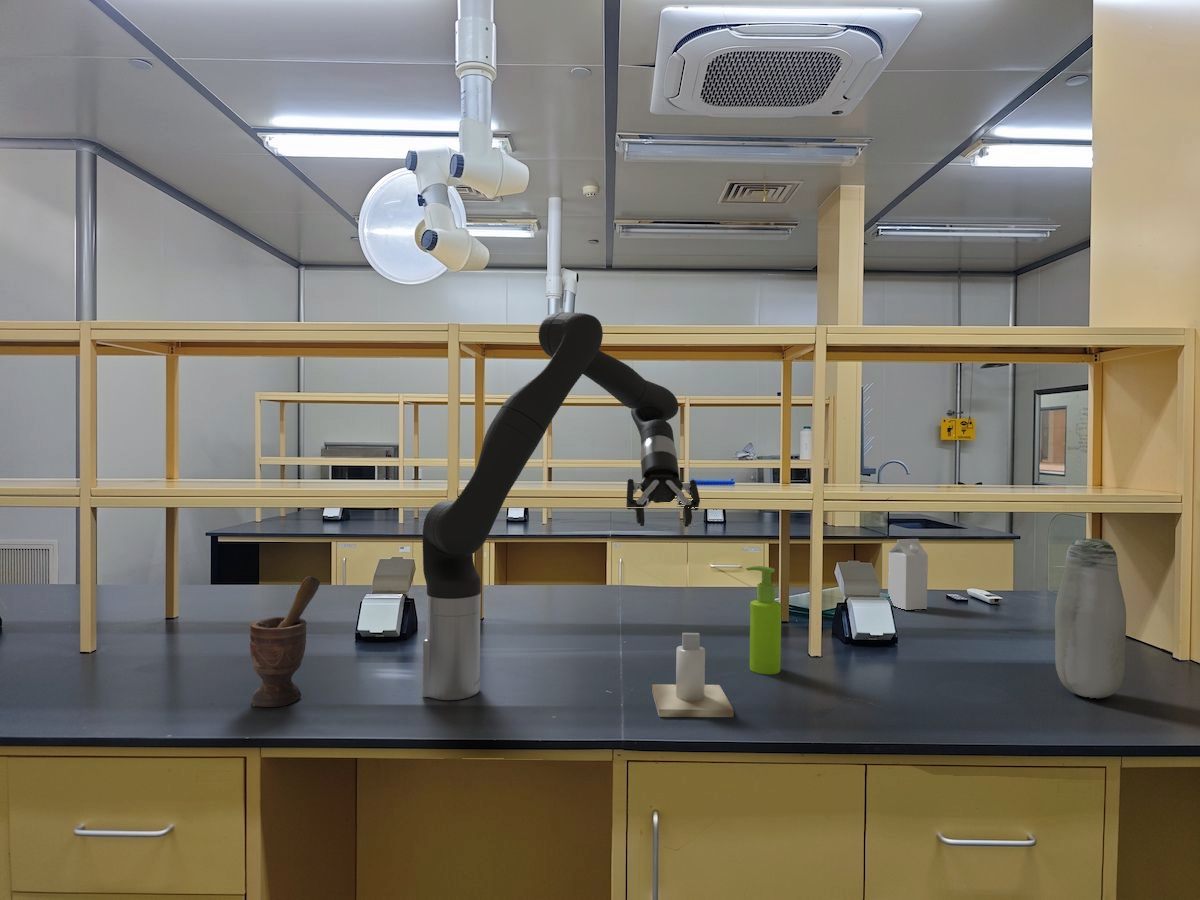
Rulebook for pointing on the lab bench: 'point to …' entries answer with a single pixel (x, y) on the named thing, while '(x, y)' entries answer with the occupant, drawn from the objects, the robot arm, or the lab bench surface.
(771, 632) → the soap dispenser
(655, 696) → the board
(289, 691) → the mortar and pestle
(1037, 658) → the lab bench surface
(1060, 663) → the grey bottle
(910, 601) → the milk carton
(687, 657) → the white bottle
